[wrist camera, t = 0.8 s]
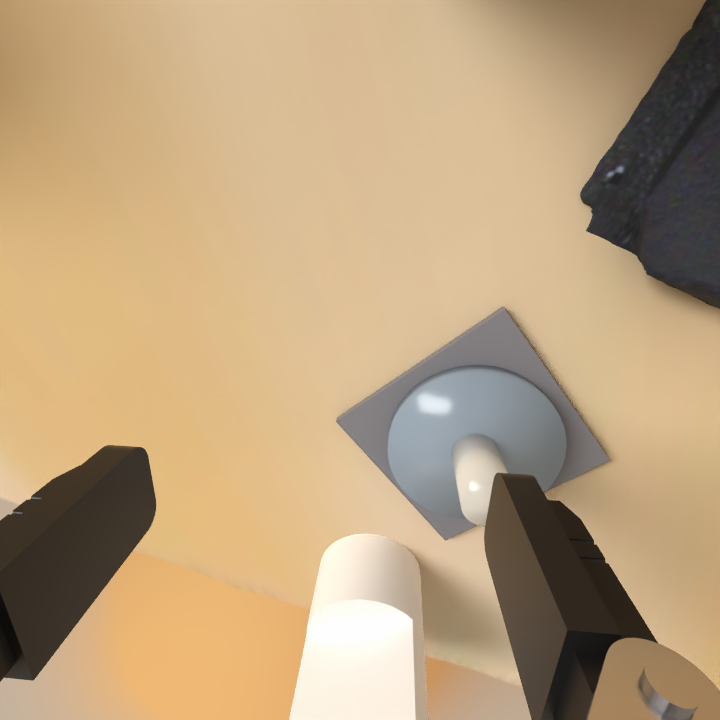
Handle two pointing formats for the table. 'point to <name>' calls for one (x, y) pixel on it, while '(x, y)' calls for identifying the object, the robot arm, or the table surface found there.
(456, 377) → the lid
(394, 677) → the white cylinder
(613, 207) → the dark slate chunk
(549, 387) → the mat
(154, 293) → the table surface
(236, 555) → the table surface
